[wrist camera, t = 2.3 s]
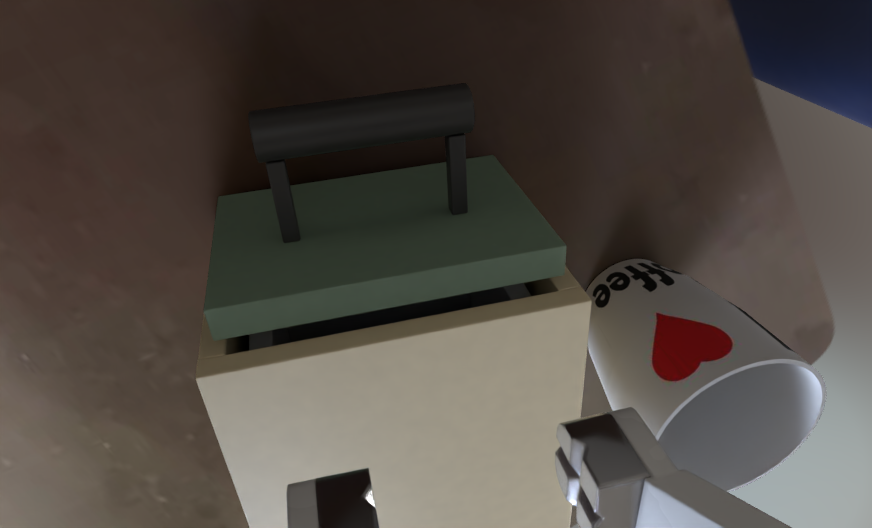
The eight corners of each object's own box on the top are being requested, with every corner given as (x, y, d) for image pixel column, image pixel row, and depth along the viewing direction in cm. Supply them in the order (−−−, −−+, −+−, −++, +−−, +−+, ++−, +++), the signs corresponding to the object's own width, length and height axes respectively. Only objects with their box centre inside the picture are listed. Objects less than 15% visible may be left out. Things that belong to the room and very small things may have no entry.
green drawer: (185, 81, 22) (155, 168, 16) (492, 44, 24) (575, 108, 18) (286, 443, 33) (292, 584, 27) (495, 398, 35) (549, 519, 28)
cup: (707, 227, 33) (856, 347, 25) (672, 346, 37) (788, 482, 29) (565, 241, 31) (673, 374, 23) (545, 364, 36) (630, 513, 27)
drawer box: (214, 224, 27) (194, 378, 19) (500, 179, 29) (592, 300, 21) (284, 468, 35) (291, 644, 27) (500, 419, 37) (566, 570, 29)
